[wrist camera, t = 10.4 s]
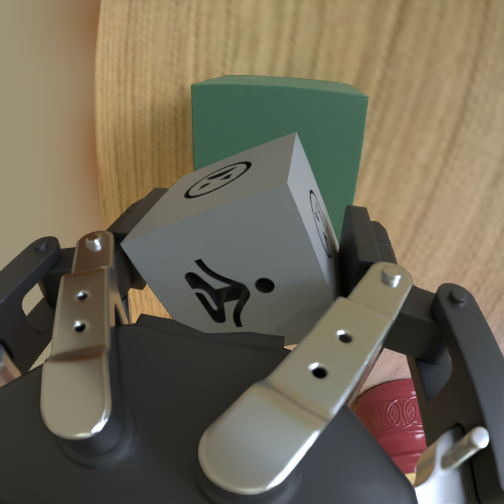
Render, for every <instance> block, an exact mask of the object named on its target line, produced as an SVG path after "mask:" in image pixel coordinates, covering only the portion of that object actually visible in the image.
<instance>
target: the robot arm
mask: <svg viewBox="0 0 504 504" xmlns="http://www.w3.org/2000/svg"><path fill="white" fill-rule="evenodd" d="M168 190H169V188H154V189H153V190H152V191H151V192H150V193H149V194H148V195H147V196H146V197H145V198H144V199H141V200H139V201H137V202H135V203H133V204H132V205H131V206H130V207H129V208H128V209H127V210H126V211H125V212H124V213H123V214H122V215H121V216H120V217H119V218H118V219H117V220H116V221H115V222H114V223H113V224H112V225H111V226H110V227H109V228H108V229H107V230H106V231H96V232H92V233H89V234H87V235H85V236H83V237H82V238H81V239H80V240H79V241H78V242H77V244H76V247H73V248H65V249H61V248H60V245H59V241H58V239H57V238H55V237H52V236H49V237H43V238H40V239H38V240H36V241H34V242H33V243H31V244H30V245H29V246H28V247H27V248H26V249H24V250H23V251H22V252H21V253H20V254H19V255H18V256H17V257H15V258H14V259H13V260H12V261H11V262H10V263H9V264H8V265H7V266H6V267H4V268H3V270H1V271H0V504H504V357H503V355H502V353H501V351H500V348H499V346H498V344H497V342H496V340H495V338H494V336H493V334H492V332H491V330H490V328H489V326H488V324H487V322H486V320H485V318H484V316H483V314H482V312H481V310H480V308H479V306H478V304H477V303H476V301H475V299H474V297H473V296H472V295H471V293H470V292H468V291H467V290H466V289H465V288H463V287H461V286H459V285H456V284H452V283H446V284H442V285H441V286H439V288H438V290H437V292H436V294H435V293H432V292H429V291H426V290H423V289H420V288H418V287H416V286H414V285H412V284H413V279H412V277H411V275H410V273H409V272H408V271H407V270H406V269H404V268H403V267H401V266H399V265H398V264H397V261H396V257H395V254H394V251H393V249H392V246H391V243H390V240H389V237H388V234H387V231H386V229H385V228H384V227H383V226H382V225H381V224H380V223H379V222H375V221H370V218H369V214H368V211H367V208H366V207H358V206H351V205H347V206H346V209H345V214H344V220H343V225H342V230H341V236H340V241H339V248H338V257H339V268H340V280H341V294H342V296H340V297H338V298H337V299H336V301H335V302H334V303H333V304H332V305H331V307H330V308H329V309H328V310H327V311H326V312H325V314H324V315H323V316H322V317H321V318H320V320H319V321H318V322H317V323H316V324H315V325H314V326H313V328H312V329H311V330H310V331H309V332H308V333H307V334H306V336H305V337H304V338H303V339H302V340H301V341H300V342H299V343H298V345H297V346H296V347H295V348H294V349H293V350H292V351H291V350H289V349H286V348H283V347H284V340H285V336H277V335H269V334H261V333H254V332H229V333H204V332H201V331H199V330H197V329H194V328H192V327H189V326H187V325H184V324H182V323H180V322H177V321H175V320H172V319H167V318H161V317H156V316H151V315H146V314H140V316H139V318H138V320H137V321H136V323H134V324H132V315H131V304H130V297H129V293H128V291H129V289H130V288H134V289H140V290H143V289H144V287H145V285H146V284H147V283H146V281H145V280H144V279H143V277H142V276H141V274H140V273H139V271H138V270H137V269H136V267H135V266H134V264H133V263H132V261H131V260H130V258H129V257H128V255H127V254H126V252H125V251H124V249H123V248H122V246H121V245H120V243H121V242H122V241H123V240H124V239H125V238H126V236H127V235H128V234H129V233H130V232H131V231H132V230H133V228H134V227H135V226H136V225H137V224H138V223H139V222H140V220H141V219H142V218H143V217H144V216H145V215H146V214H147V213H148V211H149V210H150V209H151V208H152V207H153V206H154V205H155V204H156V203H157V202H158V201H159V199H160V198H161V197H162V196H163V195H164V194H165V193H166V192H167V191H168ZM37 283H38V285H39V287H40V289H41V292H42V294H43V296H44V297H43V298H42V300H40V302H39V303H38V304H37V305H36V306H35V307H34V308H33V310H32V311H31V312H30V313H29V314H28V315H27V316H26V315H25V313H24V311H23V309H22V301H23V298H24V296H25V295H26V294H27V293H28V292H29V291H30V290H31V289H32V288H33V287H34V286H35V284H37ZM51 340H52V344H51V354H50V357H49V358H47V359H46V360H45V362H44V363H43V364H41V365H39V366H38V367H36V368H34V369H33V370H30V371H29V369H30V368H31V367H32V365H33V364H34V363H35V361H36V360H37V359H38V357H39V356H40V355H41V353H42V352H43V351H44V349H45V348H46V347H47V345H48V344H49V343H50V341H51ZM384 348H387V349H390V350H393V351H396V352H398V353H401V354H404V355H406V356H407V361H408V365H409V369H410V372H411V376H412V380H413V384H414V389H415V393H416V397H417V402H418V406H419V411H420V415H421V420H422V425H423V430H424V435H425V441H426V446H427V449H425V450H424V451H423V452H422V454H421V455H420V456H419V458H418V461H417V465H416V477H415V481H414V483H413V485H412V484H411V482H410V481H409V479H408V478H407V477H406V476H405V474H404V473H403V472H402V471H401V470H400V468H399V467H398V466H397V465H396V463H395V462H394V461H393V460H392V459H391V457H390V456H389V455H388V454H387V453H386V451H385V450H384V449H383V448H382V446H381V445H380V444H379V443H378V442H377V440H376V439H375V438H374V437H373V435H372V434H371V433H370V432H369V430H368V429H367V428H366V427H365V426H364V424H363V423H362V422H361V421H360V419H359V418H358V417H357V416H356V414H355V413H354V412H353V411H352V409H351V408H350V406H351V404H352V402H353V401H354V399H355V398H356V396H357V394H358V392H359V391H360V389H361V387H362V386H363V384H364V382H365V381H366V379H367V377H368V376H369V374H370V372H371V371H372V369H373V367H374V365H375V364H376V362H377V360H378V359H379V357H380V355H381V353H382V351H383V350H384ZM449 356H450V357H449ZM450 358H451V360H450ZM451 361H452V363H451ZM28 371H29V372H28Z"/></svg>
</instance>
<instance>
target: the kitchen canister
mask: <svg viewBox="0 0 504 504" xmlns="http://www.w3.org/2000/svg"><path fill="white" fill-rule="evenodd" d="M354 413H355V414H356V416H357V417H358V418H359V419H360V421H361V422H362V423H363V424H364V426H365V427H366V428H367V429H368V430H369V432H370V433H371V434H372V435H373V437H374V438H375V439H376V440H377V442H378V443H379V444H380V445H381V446H382V448H383V449H384V450H385V451H386V453H387V454H388V455H389V456H390V457H391V459H392V460H393V461H394V462H395V463H396V465H397V466H398V467H399V468H400V470H401V471H402V472H403V473H404V474H405V476H406V477H407V478H408V479H409V481H410V482H411V484H412V485H413V483H414V481H415V477H416V465H417V461H418V458H419V456H420V455H421V454H422V452H423V451H424V450H425V449H427V446H426V441H425V435H424V430H423V425H422V420H421V415H420V411H419V406H418V402H417V397H416V393H415V389H414V384H413V380H412V379H403V380H396V381H391V382H387V383H384V384H381V385H379V386H376V387H374V388H372V389H370V390H368V391H367V392H365V393H364V394H363V395H362V396H361V397H360V398H359V399H358V400H357V403H356V408H355V411H354Z"/></svg>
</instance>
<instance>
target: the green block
mask: <svg viewBox="0 0 504 504" xmlns="http://www.w3.org/2000/svg"><path fill="white" fill-rule="evenodd" d="M191 96H192V130H193V154H194V171H196V170H199V169H201V168H203V167H206V166H208V165H211V164H213V163H215V162H218V161H220V160H223V159H225V158H228V157H230V156H233V155H235V154H238V153H240V152H243V151H245V150H248V149H251V148H253V147H256V146H259V145H261V144H264V143H267V142H269V141H272V140H275V139H278V138H280V137H283V136H286V135H289V134H292V133H295V132H297V135H298V137H299V140H300V142H301V145H302V147H303V149H304V152H305V154H306V157H307V160H308V162H309V165H310V167H311V170H312V172H313V175H314V178H315V180H316V183H317V186H318V188H319V191H320V194H321V196H322V199H323V202H324V204H325V207H326V210H327V213H328V216H329V218H330V221H331V224H332V227H333V230H334V233H335V236H336V239H337V242H338V247H339V241H340V236H341V230H342V225H343V220H344V214H345V209H346V206H347V205H351V206H353V201H354V195H355V190H356V184H357V178H358V172H359V165H360V159H361V152H362V145H363V138H364V131H365V123H366V115H367V107H368V96H367V95H365V94H363V93H362V92H360V91H359V90H357V89H356V88H354V87H353V86H351V85H349V84H344V83H337V82H329V81H320V80H311V79H300V78H288V77H272V76H246V75H227V76H223V77H219V78H215V79H211V80H207V81H203V82H199V83H196V84H192V85H191Z"/></svg>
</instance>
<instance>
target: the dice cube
mask: <svg viewBox="0 0 504 504" xmlns="http://www.w3.org/2000/svg"><path fill="white" fill-rule="evenodd" d="M120 245H121V246H122V248H123V249H124V251H125V252H126V254H127V255H128V257H129V258H130V260H131V261H132V263H133V264H134V266H135V267H136V269H137V270H138V271H139V273H140V274H141V276H142V277H143V279H144V280H145V281H146V283H147V284H148V286H149V287H150V288H151V290H152V291H153V293H154V294H155V295H156V297H157V298H158V299H159V301H160V302H161V303H162V305H163V306H164V308H165V309H166V310H167V312H168V313H169V314H170V316H171V317H172V318H173V319H174V320H175V321H177V322H180V323H182V324H184V325H187V326H189V327H192V328H194V329H197V330H199V331H201V332H204V333H229V332H254V333H261V334H269V335H277V336H285V340H284V346H288V345H293V344H298V343H299V342H300V341H301V340H302V339H303V338H304V337H305V336H306V334H307V333H308V332H309V331H310V330H311V329H312V328H313V326H314V325H315V324H316V323H317V322H318V321H319V320H320V318H321V317H322V316H323V315H324V314H325V312H326V311H327V310H328V309H329V308H330V307H331V305H332V304H333V303H334V302H335V301H336V299H337V298H338V297H340V296H342V294H341V280H340V268H339V257H338V248H339V247H338V242H337V239H336V236H335V233H334V230H333V227H332V224H331V221H330V218H329V216H328V213H327V210H326V207H325V204H324V202H323V199H322V196H321V194H320V191H319V188H318V186H317V183H316V180H315V178H314V175H313V172H312V170H311V167H310V165H309V162H308V160H307V157H306V154H305V152H304V149H303V147H302V145H301V142H300V140H299V137H298V135H297V132H295V133H292V134H289V135H286V136H283V137H280V138H278V139H275V140H272V141H269V142H267V143H264V144H261V145H259V146H256V147H253V148H251V149H248V150H245V151H243V152H240V153H238V154H235V155H233V156H230V157H228V158H225V159H223V160H220V161H218V162H215V163H213V164H211V165H208V166H206V167H203V168H201V169H199V170H196V171H194V172H192V173H189V174H187V175H185V176H183V177H180V178H179V179H178V180H177V181H176V182H175V183H174V185H173V186H172V187H171V188H170V189H169V190H168V191H167V192H166V193H165V194H164V195H163V196H162V197H161V198H160V199H159V201H158V202H157V203H156V204H155V205H154V206H153V207H152V208H151V209H150V210H149V211H148V213H147V214H146V215H145V216H144V217H143V218H142V219H141V220H140V222H139V223H138V224H137V225H136V226H135V227H134V228H133V230H132V231H131V232H130V233H129V234H128V235H127V236H126V238H125V239H124V240H123V241H122V242H121V243H120Z"/></svg>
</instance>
